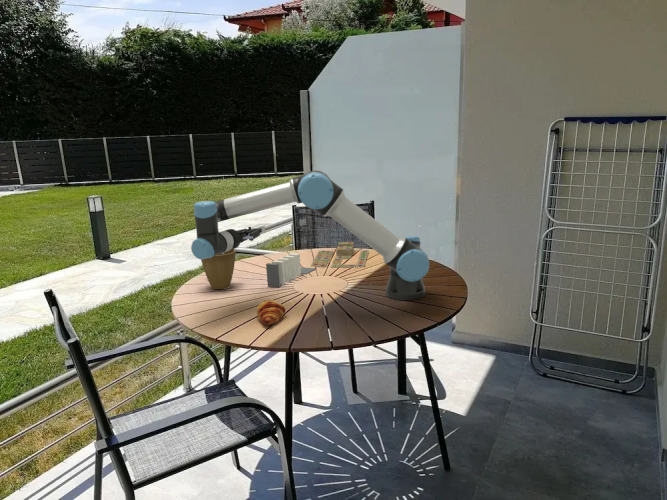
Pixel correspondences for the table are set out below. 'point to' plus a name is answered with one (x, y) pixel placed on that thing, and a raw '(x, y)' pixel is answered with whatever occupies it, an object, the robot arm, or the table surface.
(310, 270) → the mat
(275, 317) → the croissant
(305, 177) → the robot arm
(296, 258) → the domino
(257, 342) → the table surface
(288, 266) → the domino
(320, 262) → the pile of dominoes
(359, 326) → the table surface
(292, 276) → the domino
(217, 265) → the plant pot
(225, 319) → the table surface
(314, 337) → the table surface
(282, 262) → the domino
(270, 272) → the domino
